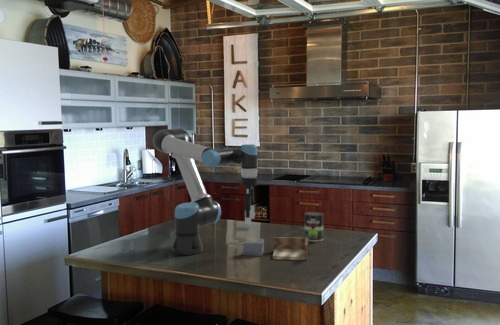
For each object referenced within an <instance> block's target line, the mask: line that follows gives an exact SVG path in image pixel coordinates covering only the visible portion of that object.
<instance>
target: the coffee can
mask: <svg viewBox="0 0 500 325" xmlns="http://www.w3.org/2000/svg"><path fill="white" fill-rule="evenodd" d="M324 214H325V213H323V212H320V211H307V212H305V213H304V237H303V238H309V242H313V243H314V242H315V243H316V242H323V240H324Z"/></svg>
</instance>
